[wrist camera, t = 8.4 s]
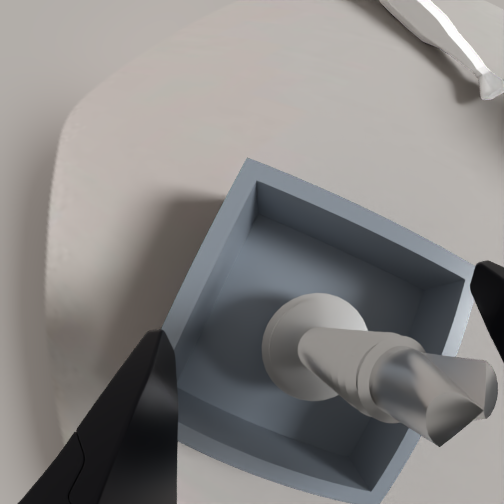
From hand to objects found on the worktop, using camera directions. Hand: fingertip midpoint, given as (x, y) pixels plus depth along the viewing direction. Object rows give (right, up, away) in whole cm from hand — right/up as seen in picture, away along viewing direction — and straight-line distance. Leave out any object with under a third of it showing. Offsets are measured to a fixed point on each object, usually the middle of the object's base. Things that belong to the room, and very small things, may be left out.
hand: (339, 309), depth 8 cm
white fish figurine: (+13, +21, +13) cm, 28 cm away
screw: (+1, -3, +8) cm, 8 cm away
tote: (0, -3, +8) cm, 9 cm away
